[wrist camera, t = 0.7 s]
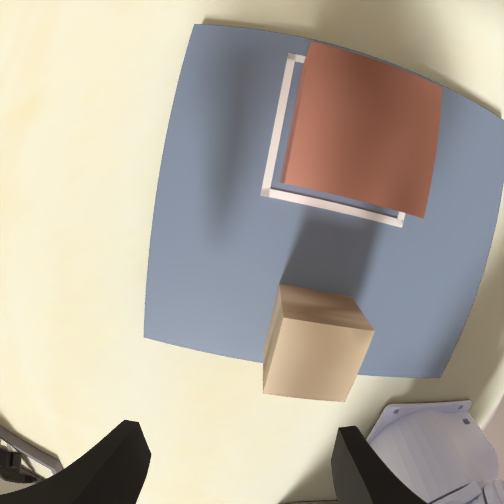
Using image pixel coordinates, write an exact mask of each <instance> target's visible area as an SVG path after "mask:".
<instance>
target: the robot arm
mask: <svg viewBox="0 0 504 504" xmlns="http://www.w3.org/2000/svg"><path fill="white" fill-rule="evenodd" d="M471 406H472V402H471V401H470V400H464V401H453V402H438V403H414V404H389V405H387V406H386V407H385V408H384V410H383V412H382V413H381V415H380V417H379V419H378V420H377V422H376V424H375V425H374V427H373V429H372V430H371V432H370V434H369V435H368V437H367V439H365V438H364V436H363V435H362V434H361V432H360V431H359V429H358V428H357V427H356V426H349V427H341V428H338V433H337V437H336V442H335V446H334V450H333V454H332V458H331V465H332V474H333V483H334V487H335V491H336V496H337V500H338V504H504V481H503V480H496V478H497V474H498V457H497V454H496V451H495V449H494V448H493V446H492V445H491V443H490V442H489V440H488V439H487V437H486V436H485V435H484V433H483V432H482V430H481V429H480V427H479V426H478V425H477V423H476V422H475V420H474V419H473V417H472V416H471V415H470V413H469V412H468V411H469V409H470V407H471ZM396 409H397V410H396ZM150 459H151V452H150V450H149V448H148V445H147V443H146V440H145V437H144V435H143V432H142V430H141V427H140V424H139V422H134V421H129V420H124V421H123V422H121V423H120V424H119V425H118V426H117V427H116V428H115V429H113V430H112V431H111V432H110V433H109V434H108V435H107V436H106V437H104V438H103V439H102V440H101V441H100V442H99V443H98V444H96V445H95V446H94V447H93V448H92V449H90V450H89V451H88V452H87V453H85V454H84V455H83V456H82V457H80V458H79V459H77V460H76V461H75V462H73V463H72V464H71V465H69V466H68V467H66V468H65V469H63V470H62V471H60V472H58V473H56V474H55V475H53V476H51V477H49V478H47V479H45V480H43V481H41V482H39V483H36V484H34V485H32V486H29V487H27V488H24V489H21V490H18V491H14V492H11V493H7V494H3V495H0V504H136V501H137V499H138V496H139V494H140V491H141V489H142V486H143V484H144V481H145V479H146V476H147V472H148V468H149V463H150Z"/></svg>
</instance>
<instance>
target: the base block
mask: <svg viewBox="0 0 504 504" xmlns="http://www.w3.org/2000/svg"><path fill="white" fill-rule="evenodd" d="M441 103H442V87H440V86H438V85H436V84H434V83H432V82H430V81H428V80H425V79H423V78H421V77H419V76H416V75H414V74H411V73H409V72H407V71H404V70H402V69H399V68H397V67H394V66H391V65H389V64H386V63H383V62H380V61H377V60H375V59H372V58H369V57H366V56H363V55H359V54H356V53H353V52H350V51H346V50H343V49H339V48H335V47H332V46H328V45H324V44H320V43H316V42H311V44H310V46H309V49H308V52H307V55H306V58H305V61H304V64H303V66H302V69H301V75H300V80H299V85H298V91H297V96H296V101H295V107H294V112H293V117H292V122H291V128H290V133H289V138H288V143H287V148H286V154H285V159H284V164H283V169H282V174H281V179H280V183H284V184H289V185H294V186H299V187H303V188H308V189H312V190H317V191H321V192H325V193H330V194H334V195H338V196H342V197H346V198H350V199H354V200H358V201H362V202H366V203H370V204H374V205H377V206H381V207H385V208H389V209H392V210H396V211H399V212H403V213H406V214H410V215H413V216H417V217H420V218H423V219H424V216H425V212H426V207H427V202H428V197H429V192H430V187H431V182H432V176H433V170H434V164H435V157H436V150H437V143H438V135H439V126H440V115H441Z"/></svg>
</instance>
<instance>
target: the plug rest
mask: <svg viewBox="0 0 504 504" xmlns="http://www.w3.org/2000/svg"><path fill="white" fill-rule="evenodd" d="M0 438H1V439H2V440H4V441H5V442H7V443H8V444H10V445H11V446H13V447H14V448H16V449H17V450H19V451H20V452H22V453H23V454H25V455H27V456H28V457H30V458H32V459H33V460H35V461H37V462H38V463H40V464H42V465H44V466H46V467H47V468H49V469H51V471H52V473H53V474H54V475H55V474H56V473H58V472H60V471H62V470H63V468H62V466H61V463H60V461H58V460H57V459H55V458H53V457H51V456H49V455H47V454H45V453H43V452H42V451H40V450H38V449H36V448H35V447H33V446H31V445H30V444H28V443H26V442H25V441H23V440H21V439H20V438H18V437H17V436H15V435H13V434H12V433H10V432H9V431H7V430H6V429H4V428H3V427H2V426H0ZM20 471H21V472H23V473H26V474H29V475H31V476H33V477H35V478H37V480H36V481H33V483H32V484H36V483H39V482H41V481H43V480H42V479H41V478H39V477H37V476H35V475H34V474H32V473H30V472H29V471H27V470H26V469H24V468H22V467H21V469H20Z"/></svg>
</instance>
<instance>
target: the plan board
mask: <svg viewBox="0 0 504 504" xmlns="http://www.w3.org/2000/svg"><path fill="white" fill-rule="evenodd" d="M311 42H316V43H320V44H324V45H328V46H332V47H335V48H339V49H343V50H346V51H350V52H353V53H356V54H359V55H363V56H366V57H369V58H372V59H375V60H377V61H380V62H383V63H386V64H389V65H391V66H394V67H397V68H399V69H402V70H404V71H407V72H409V73H411V74H414V75H416V76H419V77H421V78H423V79H425V80H428V81H430V82H432V83H434V84H436V85H438V86H440V87H442V103H441V115H440V126H439V135H438V143H437V150H436V157H435V164H434V170H433V176H432V182H431V187H430V192H429V197H428V202H427V207H426V212H425V216H424V219H423V218H420V217H417V216H413V215H410V214H406V213H403V212H399V211H396V210H392V209H389V208H385V207H381V206H377V205H374V204H370V203H366V202H362V201H358V200H354V199H350V198H346V197H342V196H338V195H334V194H330V193H325V192H321V191H317V190H312V189H308V188H303V187H299V186H294V185H289V184H284V183H280V179H281V174H282V169H283V164H284V159H285V154H286V148H287V143H288V138H289V133H290V128H291V122H292V117H293V112H294V107H295V101H296V96H297V91H298V85H299V80H300V75H301V69H302V66H303V64H304V61H305V58H306V55H307V52H308V49H309V46H310V44H311ZM503 183H504V120H503V119H501V118H500V117H498V116H497V115H495V114H493V113H492V112H490V111H488V110H487V109H485V108H484V107H482V106H480V105H478V104H477V103H475V102H473V101H471V100H470V99H468V98H466V97H464V96H462V95H461V94H459V93H457V92H455V91H453V90H451V89H449V88H447V87H445V86H443V85H441V84H439V83H437V82H435V81H432V80H430V79H428V78H426V77H424V76H421V75H419V74H417V73H414V72H412V71H410V70H407V69H405V68H402V67H400V66H397V65H395V64H392V63H389V62H387V61H384V60H381V59H378V58H375V57H372V56H370V55H366V54H363V53H360V52H357V51H354V50H350V49H347V48H344V47H340V46H336V45H333V44H329V43H325V42H321V41H317V40H312V39H308V38H303V37H299V36H294V35H289V34H283V33H277V32H271V31H265V30H258V29H250V28H242V27H232V26H220V25H203V24H194V27H193V30H192V33H191V37H190V40H189V43H188V47H187V50H186V54H185V58H184V61H183V65H182V69H181V73H180V77H179V81H178V85H177V89H176V93H175V97H174V101H173V106H172V110H171V115H170V120H169V124H168V129H167V134H166V139H165V145H164V150H163V155H162V161H161V167H160V173H159V179H158V186H157V192H156V199H155V206H154V214H153V222H152V230H151V239H150V249H149V259H148V270H147V283H146V298H145V317H144V337H145V338H149V339H152V340H156V341H160V342H164V343H168V344H172V345H176V346H180V347H185V348H189V349H193V350H198V351H202V352H207V353H212V354H217V355H221V356H226V357H232V358H237V359H242V360H248V361H254V362H260V363H263V348H264V344H265V340H266V336H267V332H268V328H269V324H270V320H271V316H272V312H273V307H274V303H275V299H276V295H277V290H278V286H279V284H285V285H290V286H296V287H301V288H307V289H312V290H318V291H323V292H329V293H335V294H341V295H346V296H351V297H352V298H353V300H354V301H355V302H356V304H357V305H358V307H359V308H360V310H361V311H362V313H363V314H364V316H365V317H366V319H367V320H368V322H369V323H370V325H371V326H372V328H373V329H374V331H375V332H374V335H373V337H372V340H371V342H370V345H369V348H368V350H367V353H366V355H365V357H364V360H363V362H362V365H361V367H360V369H359V372H358V374H357V375H370V376H387V377H414V378H440V377H441V375H442V373H443V371H444V369H445V367H446V365H447V363H448V361H449V359H450V357H451V355H452V352H453V350H454V348H455V346H456V344H457V342H458V339H459V337H460V335H461V332H462V330H463V328H464V325H465V323H466V320H467V318H468V315H469V313H470V310H471V307H472V305H473V302H474V299H475V296H476V294H477V291H478V288H479V285H480V282H481V279H482V275H483V272H484V269H485V266H486V262H487V259H488V255H489V251H490V248H491V244H492V240H493V235H494V231H495V227H496V222H497V217H498V212H499V207H500V202H501V196H502V190H503Z"/></svg>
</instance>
